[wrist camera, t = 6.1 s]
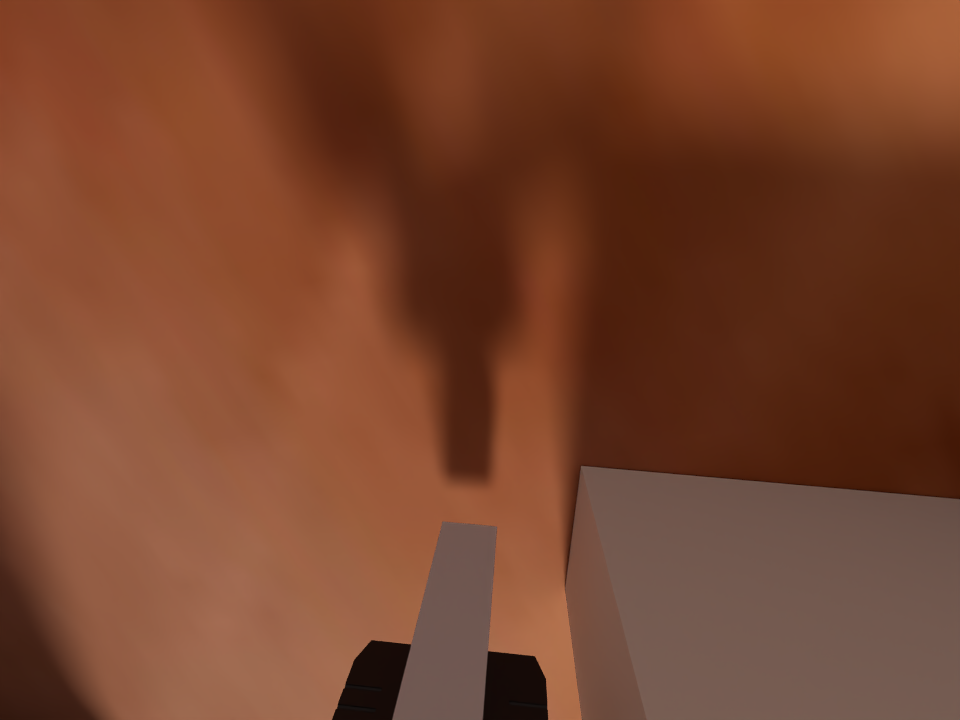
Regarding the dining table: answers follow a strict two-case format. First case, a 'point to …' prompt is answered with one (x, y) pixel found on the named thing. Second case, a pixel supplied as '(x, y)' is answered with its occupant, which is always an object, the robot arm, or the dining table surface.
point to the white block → (762, 600)
